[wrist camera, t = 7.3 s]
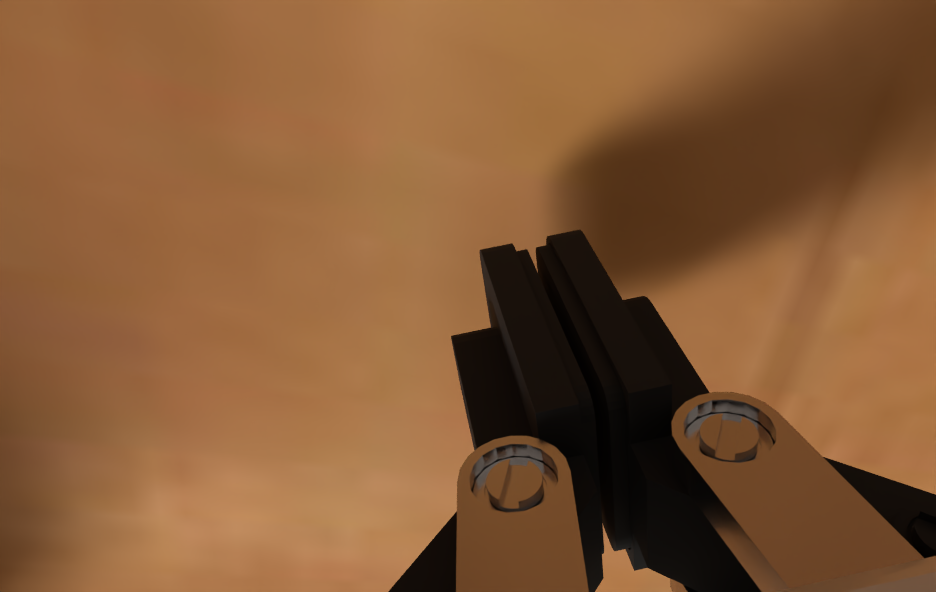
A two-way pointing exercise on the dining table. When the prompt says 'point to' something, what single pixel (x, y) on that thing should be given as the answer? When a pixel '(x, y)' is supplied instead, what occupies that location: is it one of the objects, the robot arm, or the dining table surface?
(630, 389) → the robot arm
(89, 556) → the dining table surface
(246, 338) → the dining table surface
